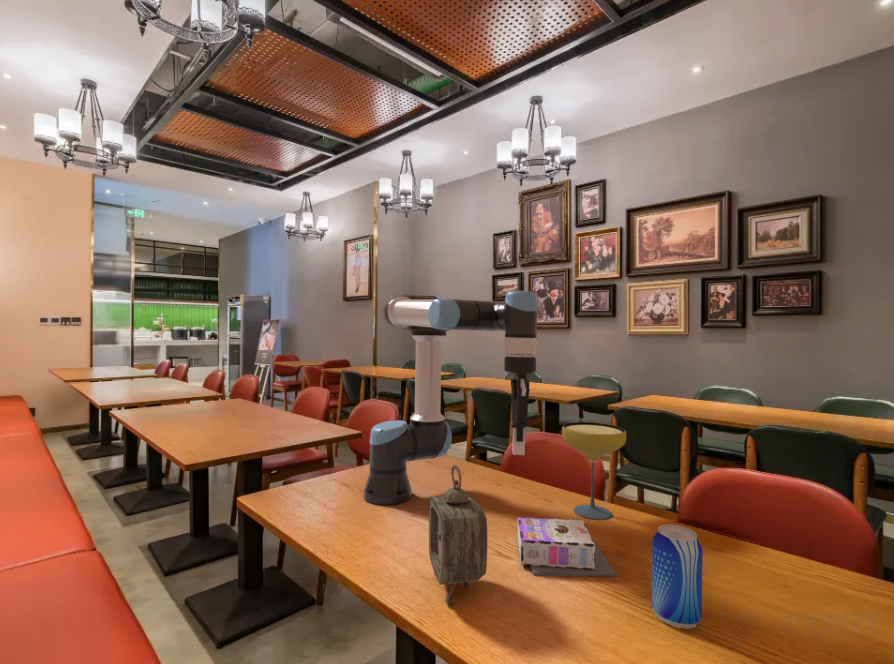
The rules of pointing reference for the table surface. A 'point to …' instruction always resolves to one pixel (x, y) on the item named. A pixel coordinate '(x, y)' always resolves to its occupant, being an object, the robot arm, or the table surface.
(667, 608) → the beer can
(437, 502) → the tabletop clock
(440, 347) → the robot arm
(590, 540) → the candy box
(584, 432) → the cocktail glass
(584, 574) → the mat
